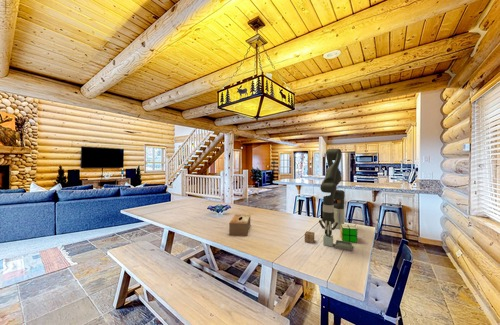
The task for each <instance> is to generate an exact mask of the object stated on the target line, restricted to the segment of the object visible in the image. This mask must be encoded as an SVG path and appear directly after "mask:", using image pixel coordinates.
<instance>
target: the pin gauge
mask: <svg viewBox="0 0 500 325" xmlns="http://www.w3.org/2000/svg"><path fill="white" fill-rule="evenodd" d="M327 237H330V226H329V225H327Z"/></svg>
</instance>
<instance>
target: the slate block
mask: <svg viewBox="0 0 500 325" xmlns="http://www.w3.org/2000/svg"><path fill="white" fill-rule="evenodd" d="M322 245H323V246H327V247H331V248H333V247H334V246H333V245H334V235H333V234H332V235H331V236H330V237H327V235H326V234H325V233H324V234H323V244H322Z"/></svg>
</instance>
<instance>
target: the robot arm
mask: <svg viewBox="0 0 500 325" xmlns="http://www.w3.org/2000/svg"><path fill="white" fill-rule="evenodd" d="M342 156H343V154H342V149H341V148H328V149H326V152H325V158H326V161H327V162H326V163H327V166H328V168H327V170H326V172H325V177H324V179H323V181H322V182H321V184H320V187H319V188H320V189H319V190H320V191H321V192H322V193H325V194H326V193H327V194H330V195H325V196H323V198H322V200H323V201H322V218H321V219H318V223H319V225H320V227H321V228H322V229H324V234H326V235H327V225H329V226H330V236H331V235H333V231H335V230H336V229H337V230H340V227H341V224H345V200H346V199H345V197H346V195H345V191H344V189H343V190H341V189H337V187H338V185H339V184H340V183H341V181H342V172H341V170H340V168H339V166H340V162H341V160H342ZM335 201H339V202H337V203H334V202H335Z"/></svg>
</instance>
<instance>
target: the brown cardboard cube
mask: <svg viewBox="0 0 500 325" xmlns="http://www.w3.org/2000/svg"><path fill="white" fill-rule="evenodd" d="M304 243H309V244H314V243H315V232H314V231H307V230H306V231H305V232H304Z"/></svg>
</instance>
